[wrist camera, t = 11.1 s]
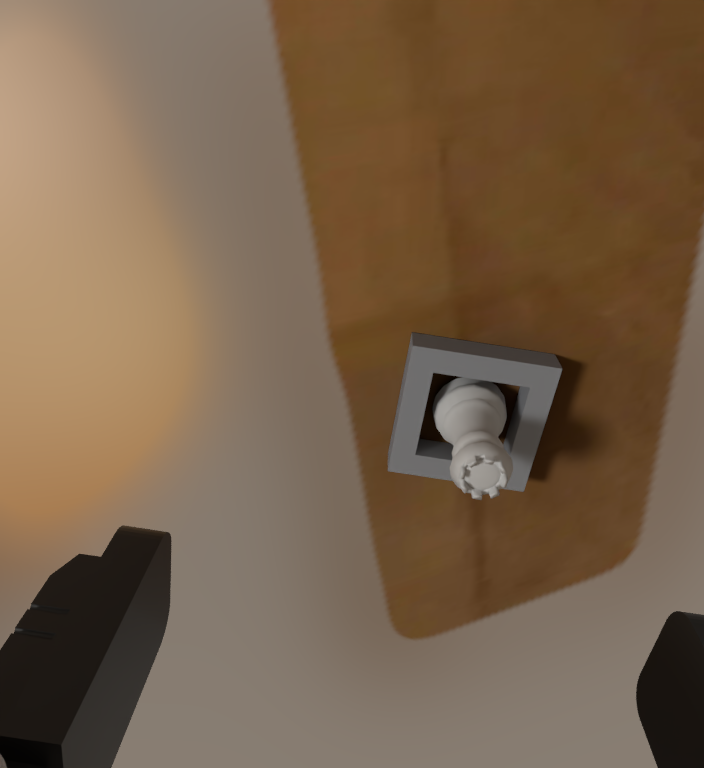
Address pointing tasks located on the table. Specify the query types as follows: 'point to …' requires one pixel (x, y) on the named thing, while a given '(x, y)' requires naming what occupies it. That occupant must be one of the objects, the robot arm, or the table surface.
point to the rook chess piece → (474, 435)
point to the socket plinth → (480, 363)
